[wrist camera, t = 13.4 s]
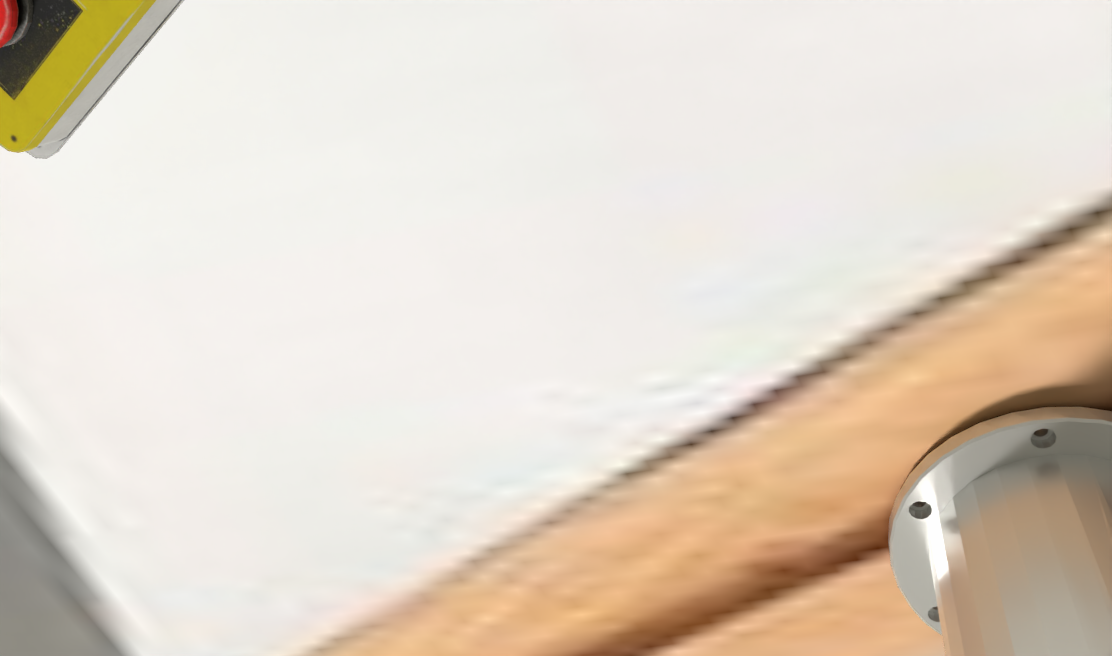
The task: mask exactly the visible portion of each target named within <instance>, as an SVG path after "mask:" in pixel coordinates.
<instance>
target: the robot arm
mask: <svg viewBox="0 0 1112 656" xmlns="http://www.w3.org/2000/svg"><path fill="white" fill-rule="evenodd" d="M1040 429H1041V430H1040ZM888 545H889V552H890V561H891V567H892V570H893V573H894V576H895V579H896V582H897V585H898V588H899V589H900V591H901V592H902V594H903V596H904V597H905V599H906V601H907V602H908V604H909V606H910V607H911V608H912V609H913V611H914V612H915V613H916V614H917V615H918V616H919V617H920V618H921V619H922V621H924V622H925V623H926V624H927V625H928V626H929V627H931V628H932V629H933V630H935V631H936V632H938V633H939V634H940V635H942V637H943V643H944V649H945V656H1112V411H1107V410H1100V409H1093V408H1085V407H1043V408H1037V409H1031V410H1025V411H1018V412H1012V413H1009V414H1005V415H1002V416H999V417H996V418H993V419H990V420H987V421H983V422H980V423H978V424H976V425H974V426H972V427H970V428H968V429H966V430H964V431H962V432H960V433H958V434H956V435H954V436H952V437H951V438H949V439H948V440H947V441H945V442H944V443H943V444H941V445H940V446H938V447H937V448H936V449H934V450H933V451H932V452H930V453H929V454H928V455H927V456H926V457H925V458H924V459H923V460H922V461H921V462H920V463H919V464H918V466H917V467H916V468H915V469H914V470H913V471H912V472H911V473H910V474H909V476H908V478H907V479H906V481H905V483H904V484H903V486H902V488H901V489H900V491H899V493H898V494H897V496H896V499H895V502H894V506H893V509H892V512H891V515H890V518H889V534H888Z"/></svg>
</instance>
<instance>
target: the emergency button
mask: <svg viewBox="0 0 1112 656" xmlns="http://www.w3.org/2000/svg"><path fill="white" fill-rule="evenodd" d="M183 1H184V0H0V146H2V147H3V148H5V149H6V150H8V151H11V152H17V153H19V152H24V151H26V152H27V153H29V154H30V155H32V156H33V157H35V158H43V159H47V158H49V157H51V156H53V155H54V154H56V153H57V152H58V151H59V150H60V149H61V148H62V147H63V145H64V144H65V143H66V142H67V141H68V139H69V138H70V137H71V136H72V135H73V133H74V132H75V131H76V130H77V129H78V127H79V126H80V125H81V124H82V122H83V121H84V120H85V119H86V118H87V116H88V115H89V114H90V113H91V112H92V110H93V109H94V108H95V107H96V106H97V104H98V103H99V102H100V101H101V100H102V98H103V97H104V96H105V95H106V94H107V92H108V91H109V90H110V89H111V88H112V86H113V85H114V84H115V83H116V82H117V80H118V79H119V78H120V77H121V76H122V74H123V73H124V72H125V71H126V70H127V68H128V67H129V66H130V65H131V64H132V62H133V61H134V60H135V59H136V58H137V56H138V55H139V54H140V53H141V52H142V50H143V49H144V48H145V47H146V46H147V44H148V43H149V42H150V41H151V40H152V38H153V37H154V36H155V35H156V34H157V32H158V31H159V30H160V29H161V28H162V26H163V25H164V24H165V23H166V22H167V20H168V19H169V18H170V17H171V16H172V14H173V13H174V12H175V11H176V10H177V8H178V7H179V6H180V5H181V4H182V2H183Z"/></svg>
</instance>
